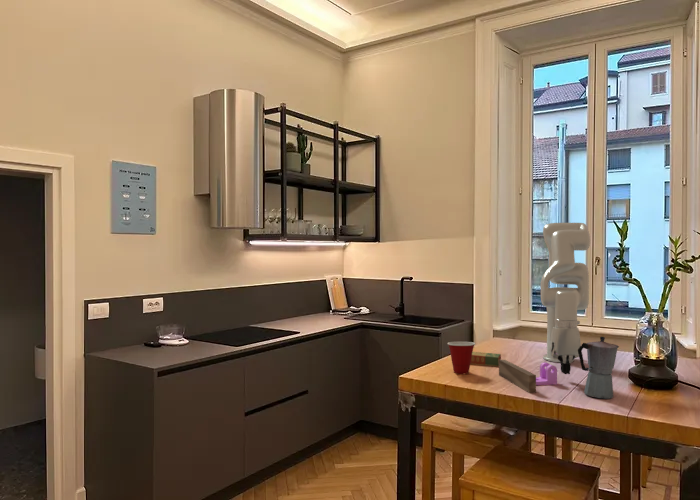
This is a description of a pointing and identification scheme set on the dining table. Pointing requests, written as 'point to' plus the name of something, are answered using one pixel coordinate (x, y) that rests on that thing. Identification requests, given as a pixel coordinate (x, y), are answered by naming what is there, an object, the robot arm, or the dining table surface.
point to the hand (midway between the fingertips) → (565, 373)
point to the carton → (485, 358)
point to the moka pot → (599, 368)
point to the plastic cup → (461, 356)
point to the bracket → (547, 375)
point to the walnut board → (517, 376)
